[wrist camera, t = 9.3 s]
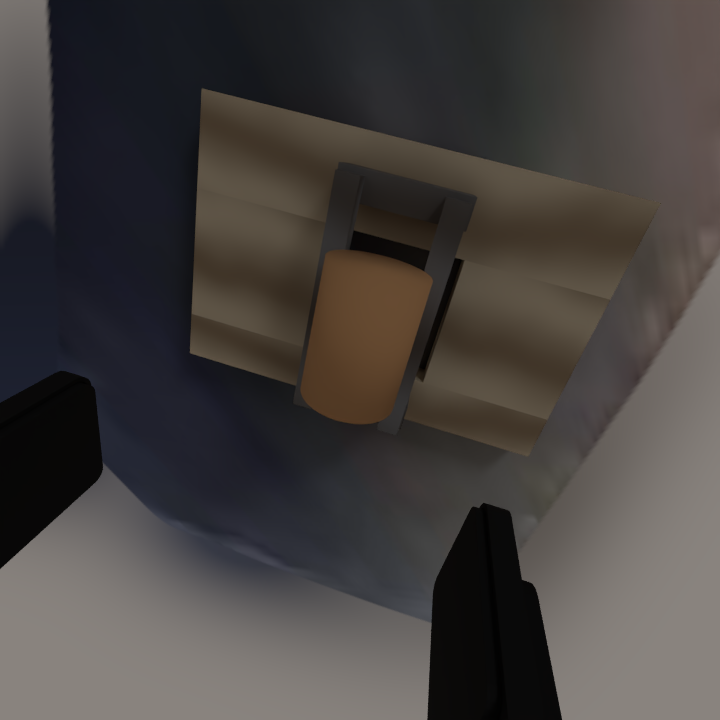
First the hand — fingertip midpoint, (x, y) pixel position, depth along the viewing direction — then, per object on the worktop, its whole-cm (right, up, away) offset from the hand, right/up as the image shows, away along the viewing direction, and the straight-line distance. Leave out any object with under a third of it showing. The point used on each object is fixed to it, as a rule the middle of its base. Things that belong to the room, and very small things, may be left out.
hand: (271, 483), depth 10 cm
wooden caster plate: (+4, +8, +16) cm, 19 cm away
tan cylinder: (+3, +5, +13) cm, 14 cm away
